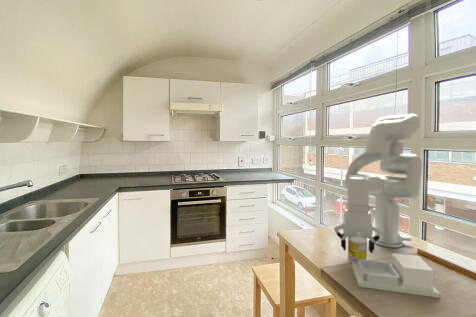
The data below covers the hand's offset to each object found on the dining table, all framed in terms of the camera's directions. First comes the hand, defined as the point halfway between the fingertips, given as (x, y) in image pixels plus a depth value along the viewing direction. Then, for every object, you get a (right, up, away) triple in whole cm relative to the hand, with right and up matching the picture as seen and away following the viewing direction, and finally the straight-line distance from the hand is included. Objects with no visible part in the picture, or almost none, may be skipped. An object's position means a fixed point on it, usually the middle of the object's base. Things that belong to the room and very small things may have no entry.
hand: (357, 250), depth 93 cm
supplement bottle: (0, -5, 0) cm, 5 cm away
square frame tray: (+4, -5, -13) cm, 15 cm away
